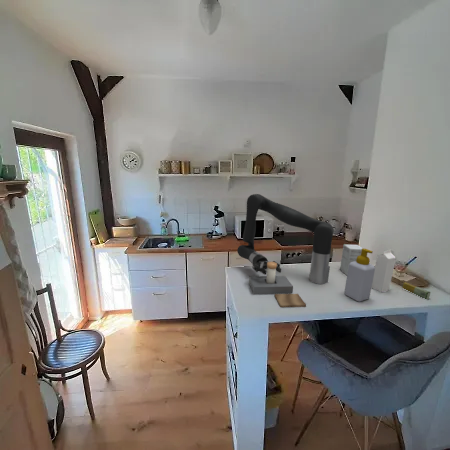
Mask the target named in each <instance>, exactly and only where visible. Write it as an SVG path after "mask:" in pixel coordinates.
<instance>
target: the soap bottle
mask: <svg viewBox="0 0 450 450" xmlns="http://www.w3.org/2000/svg"><path fill="white" fill-rule="evenodd" d="M368 254H373V251H372V250H370V249H368V248H364V247H362V251H361V255H359V256H358V257H357V259H356V261H354V262H351V263H350V264H349V267H348V273H347V275H346V281H345V285H344V291H343V293H344V295H345V296H347V297H349V298H351V299H353V300H354V301H357V302H363V301H366V300H369V299H370V296H371V292H372V282H373V277H374V272H375V265H374V264H372V263H371V262H370V261H371V260H370V258H369V257H368Z"/></svg>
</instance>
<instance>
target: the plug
mask: <svg viewBox="0 0 450 450" xmlns="http://www.w3.org/2000/svg"><path fill="white" fill-rule="evenodd" d="M275 262H276V261H275ZM275 262H273V261H268V263H267V269H266V276H267V278H266V283H267V284H275V276H276V275H277V274H276V273H277V271H276V268H277V263H278V262H277V263H275Z"/></svg>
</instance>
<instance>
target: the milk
mask: <svg viewBox="0 0 450 450" xmlns="http://www.w3.org/2000/svg"><path fill="white" fill-rule="evenodd" d="M396 259H397V257H396V256H395V255H394V254H393V253H392V249H388V250H384V251H383V252H382V253H380V254H377V256H376V262H375V265H374V266H375V272H374V277H373V282H372V287H371V289H374V290H375V291H378V292H380V293H384V292H388V290H389V291H390V288H391V287H390V286H391V283H392V278H393V273H394V267H395V264H396V263H395V262H396Z"/></svg>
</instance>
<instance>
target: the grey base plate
mask: <svg viewBox="0 0 450 450" xmlns="http://www.w3.org/2000/svg"><path fill="white" fill-rule="evenodd" d="M266 278H267V275H266V276H265V275H261V276H259V275H258V276H257V275H256V276H254V275H252V276H249V280H248V281H249V282H248V284H249V287H250V288H251V291H252V294H253V295H275V294H294V293H293V292H294V285H293V284H292V283H291V281H290V280H289V279H288V277H287V276H286V275H275V284H267V283H266Z"/></svg>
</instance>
